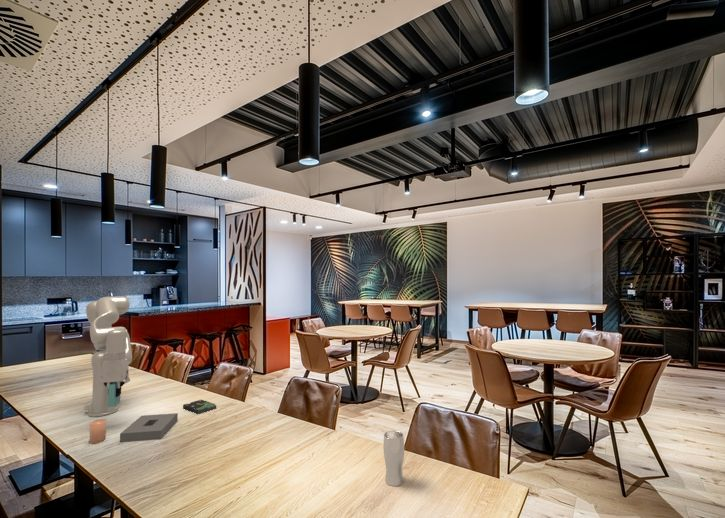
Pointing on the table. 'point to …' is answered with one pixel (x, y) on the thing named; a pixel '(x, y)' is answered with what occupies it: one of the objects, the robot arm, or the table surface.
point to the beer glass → (394, 457)
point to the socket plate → (149, 427)
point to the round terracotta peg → (97, 431)
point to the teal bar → (113, 395)
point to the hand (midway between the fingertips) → (114, 396)
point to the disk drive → (199, 406)
